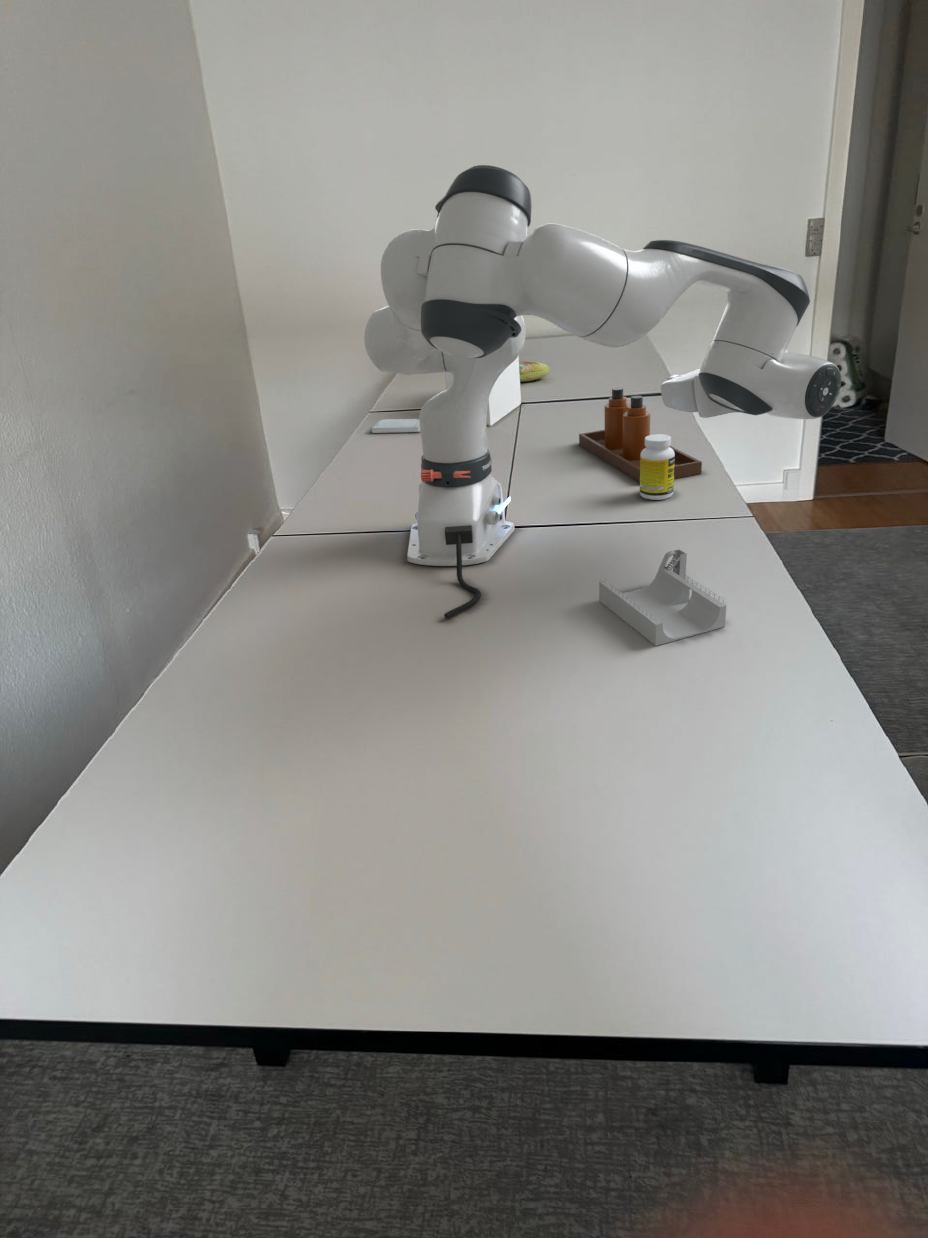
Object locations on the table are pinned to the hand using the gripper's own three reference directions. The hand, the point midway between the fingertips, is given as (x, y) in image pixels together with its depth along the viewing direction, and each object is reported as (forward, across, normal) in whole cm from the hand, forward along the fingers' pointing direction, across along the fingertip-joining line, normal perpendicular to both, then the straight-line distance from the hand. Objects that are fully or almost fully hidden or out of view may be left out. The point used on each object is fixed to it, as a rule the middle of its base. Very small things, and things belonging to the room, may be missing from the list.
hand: (696, 371), depth 137 cm
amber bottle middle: (+34, -4, +22) cm, 41 cm away
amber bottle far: (+43, -5, +22) cm, 48 cm away
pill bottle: (+12, +4, +23) cm, 27 cm away
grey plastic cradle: (-28, +28, +22) cm, 46 cm away
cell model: (+120, -17, +19) cm, 122 cm away
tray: (+34, -4, +23) cm, 41 cm away
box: (+97, +5, +17) cm, 98 cm away
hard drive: (+90, +30, +13) cm, 96 cm away
